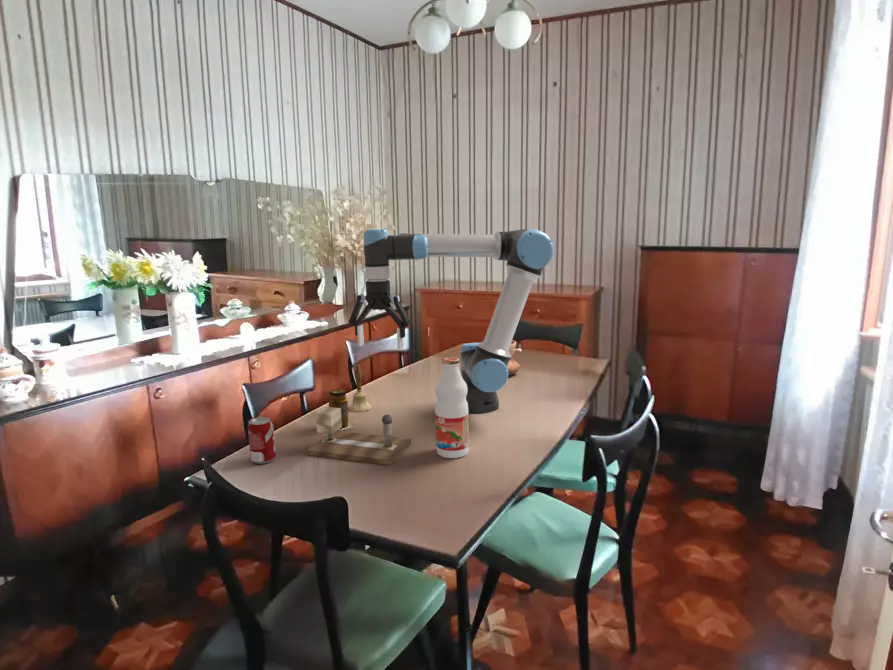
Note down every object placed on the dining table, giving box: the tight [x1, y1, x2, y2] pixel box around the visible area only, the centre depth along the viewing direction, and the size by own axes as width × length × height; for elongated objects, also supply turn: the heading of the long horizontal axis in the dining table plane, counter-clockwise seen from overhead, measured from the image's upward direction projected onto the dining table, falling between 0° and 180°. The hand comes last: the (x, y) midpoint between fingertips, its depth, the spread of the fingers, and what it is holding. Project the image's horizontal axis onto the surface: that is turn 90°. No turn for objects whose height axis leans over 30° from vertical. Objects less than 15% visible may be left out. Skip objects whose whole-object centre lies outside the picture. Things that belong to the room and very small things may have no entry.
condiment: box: [328, 388, 351, 432], centre depth 191 cm, size 7×8×12 cm
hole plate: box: [306, 414, 412, 466], centre depth 173 cm, size 26×16×12 cm, turn 72°
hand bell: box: [348, 364, 373, 413], centre depth 209 cm, size 8×8×16 cm
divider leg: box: [315, 406, 342, 439], centre depth 176 cm, size 5×6×9 cm
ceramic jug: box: [507, 339, 522, 377], centre depth 251 cm, size 18×14×14 cm
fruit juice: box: [434, 356, 470, 459], centre depth 167 cm, size 9×9×28 cm
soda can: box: [247, 416, 277, 465], centre depth 166 cm, size 7×7×12 cm
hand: (380, 346), depth 187 cm, fingers open, 13 cm apart
